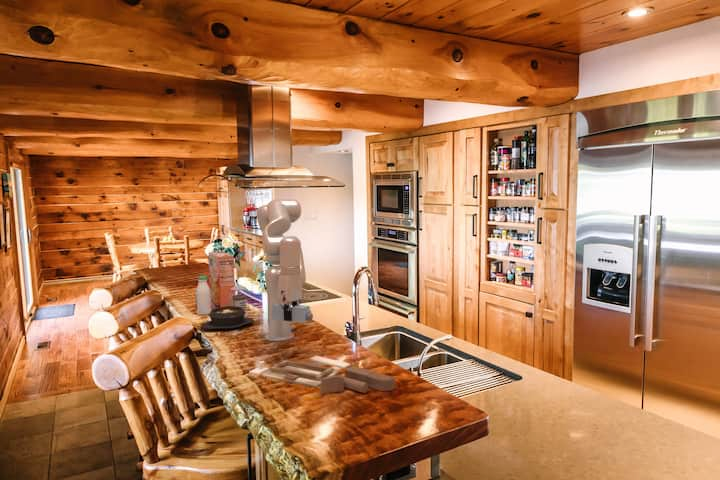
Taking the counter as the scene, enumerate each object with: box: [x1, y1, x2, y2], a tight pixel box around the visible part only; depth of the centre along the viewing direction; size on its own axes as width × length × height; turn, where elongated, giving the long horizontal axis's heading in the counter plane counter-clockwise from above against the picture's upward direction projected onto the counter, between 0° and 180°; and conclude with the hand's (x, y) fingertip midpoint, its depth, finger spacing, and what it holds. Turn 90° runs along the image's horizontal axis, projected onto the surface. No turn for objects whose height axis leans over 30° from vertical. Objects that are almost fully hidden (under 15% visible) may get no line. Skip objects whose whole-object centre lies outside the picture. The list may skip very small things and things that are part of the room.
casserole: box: [200, 306, 255, 331], centre depth 231 cm, size 25×19×8 cm
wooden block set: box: [320, 365, 395, 395], centre depth 155 cm, size 17×6×18 cm
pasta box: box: [208, 251, 236, 309], centre depth 269 cm, size 23×8×30 cm, turn 30°
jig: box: [261, 359, 342, 388], centre depth 170 cm, size 16×22×2 cm
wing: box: [309, 355, 351, 370], centre depth 181 cm, size 4×16×1 cm, turn 55°
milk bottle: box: [195, 275, 212, 316], centre depth 256 cm, size 8×8×20 cm
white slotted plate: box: [248, 360, 270, 377], centre depth 172 cm, size 6×4×4 cm, turn 153°
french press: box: [229, 266, 250, 317], centre depth 253 cm, size 10×12×25 cm
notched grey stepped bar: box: [272, 303, 314, 324], centre depth 182 cm, size 16×4×6 cm, turn 63°
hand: (291, 318), depth 183 cm, fingers closed on notched grey stepped bar, 4 cm apart
